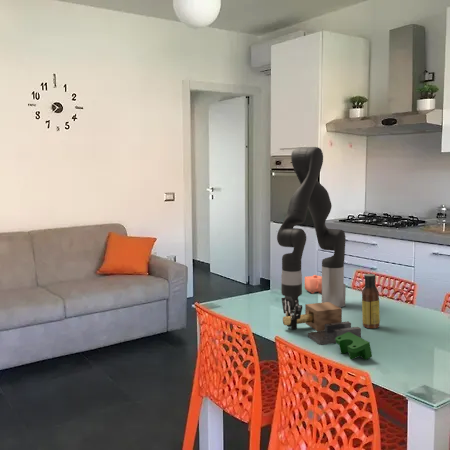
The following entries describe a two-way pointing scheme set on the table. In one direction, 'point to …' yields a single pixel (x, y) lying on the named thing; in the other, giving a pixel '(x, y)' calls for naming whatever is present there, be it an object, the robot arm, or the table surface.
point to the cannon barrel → (303, 319)
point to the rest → (333, 332)
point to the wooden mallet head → (323, 314)
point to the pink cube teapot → (313, 284)
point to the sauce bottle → (370, 303)
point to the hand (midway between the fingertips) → (291, 327)
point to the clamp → (354, 346)
